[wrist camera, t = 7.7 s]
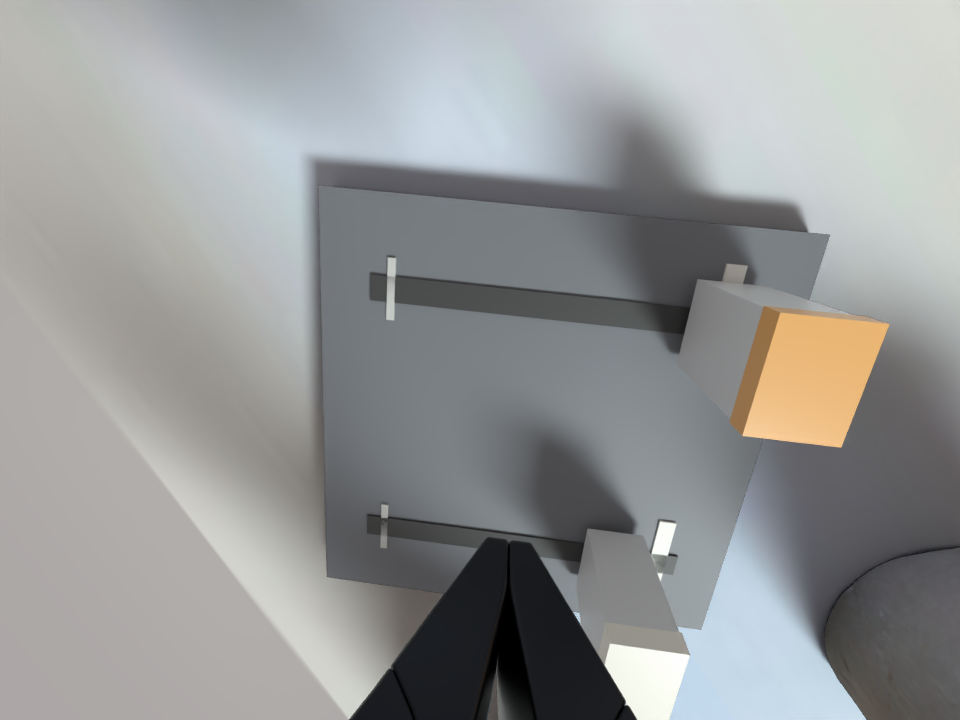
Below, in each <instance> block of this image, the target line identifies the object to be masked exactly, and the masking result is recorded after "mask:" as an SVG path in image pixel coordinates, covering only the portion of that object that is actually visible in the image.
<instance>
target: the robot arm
mask: <svg viewBox="0 0 960 720" xmlns="http://www.w3.org/2000/svg"><path fill="white" fill-rule="evenodd" d="M496 667H497V703H498V720H637V718H636V716H635V715H634V713H633V711H632V710H631V708H630V706H628V705H626V700H625V698H624V697H623V695H622V693H621V692H620V690H619V688H618V687H617V685H616V683H615V682H614V680H613V678H612V677H611V675H610V673H609V672H608V670H607V668H606V667H605V665H604V663H603V662H602V660H601V658H600V657H599V655H598V653H597V652H596V650H595V648H594V647H593V645H592V643H591V642H590V640H589V638H588V637H587V635H586V633H585V632H584V630H583V628H582V627H581V625H580V623H579V622H578V620H577V618H576V616H575V615H574V613H573V611H572V610H571V608H570V606H569V605H568V603H567V601H566V600H565V598H564V596H563V595H562V593H561V591H560V590H559V588H558V586H557V585H556V583H555V581H554V580H553V578H552V576H551V575H550V573H549V571H548V570H547V568H546V566H545V565H544V563H543V561H542V560H541V558H540V556H539V555H538V553H537V551H536V550H535V548H534V546H533V545H532V544H531V543H529V542H524V541H517V540H511V541H510V542H509V544H508V541H507V540H506V539H502V538H495V537H487V538H486V539H485V540H484V541H483V542H482V544H481V545H480V546H479V548H478V549H477V550H476V552H475V553H474V554H473V556H472V557H471V559H470V560H469V561H468V563H467V564H466V565H465V567H464V568H463V569H462V571H461V572H460V573H459V575H458V576H457V577H456V579H455V580H454V581H453V583H452V584H451V585H450V587H449V588H448V590H447V591H446V592H445V594H444V595H443V596H442V598H441V599H440V600H439V602H438V603H437V604H436V606H435V607H434V608H433V610H432V611H431V612H430V614H429V615H428V616H427V618H426V619H425V620H424V622H423V623H422V625H421V626H420V627H419V629H418V630H417V631H416V633H415V634H414V635H413V637H412V638H411V639H410V641H409V642H408V643H407V645H406V646H405V647H404V649H403V650H402V651H401V653H400V654H399V656H398V657H397V658H396V660H395V661H394V662H393V664H392V665H391V669H388V670H387V671H386V673H385V674H384V675H383V677H382V678H381V679H380V681H379V682H378V683H377V685H376V686H375V687H374V689H373V690H372V691H371V693H370V694H369V695H368V696H367V698H366V699H365V700H364V701H363V703H362V704H361V705H360V706H359V708H358V709H357V710H356V712H355V713H354V714H353V715H352V717H351V718H350V719H349V720H487V718H488V713H489V708H490V703H491V697H492V692H493V687H494V680H495V674H496Z"/></svg>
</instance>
